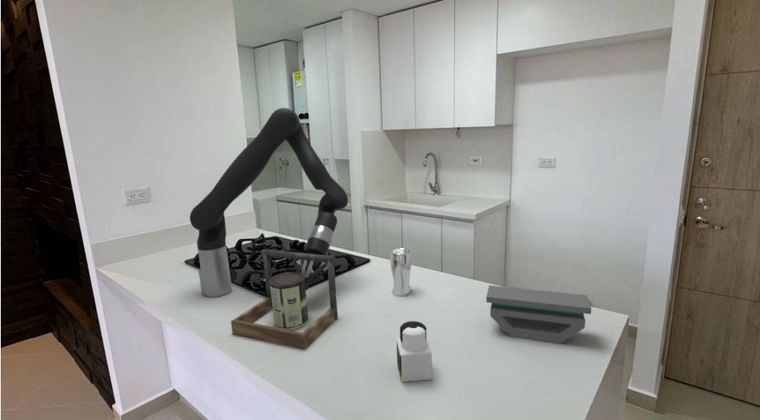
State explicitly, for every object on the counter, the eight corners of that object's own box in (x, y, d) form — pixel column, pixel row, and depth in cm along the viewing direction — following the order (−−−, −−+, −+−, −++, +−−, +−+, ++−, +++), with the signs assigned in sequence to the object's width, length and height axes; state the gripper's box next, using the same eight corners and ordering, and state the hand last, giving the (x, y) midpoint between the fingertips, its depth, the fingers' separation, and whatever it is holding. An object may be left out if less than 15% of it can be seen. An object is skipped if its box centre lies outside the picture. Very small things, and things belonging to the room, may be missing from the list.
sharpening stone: (583, 332, 106) (586, 295, 103) (588, 348, 99) (591, 308, 96) (488, 320, 114) (489, 285, 112) (485, 333, 107) (486, 296, 105)
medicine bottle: (397, 364, 95) (395, 319, 93) (426, 361, 96) (425, 316, 93) (401, 383, 88) (399, 334, 86) (432, 380, 89) (431, 332, 86)
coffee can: (294, 310, 125) (290, 269, 122) (315, 320, 119) (312, 276, 115) (266, 323, 118) (261, 279, 115) (287, 334, 111) (282, 288, 108)
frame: (271, 306, 129) (265, 248, 125) (339, 317, 119) (334, 255, 115) (231, 333, 113) (222, 268, 108) (306, 349, 103) (299, 278, 99)
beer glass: (412, 288, 138) (411, 247, 135) (411, 296, 132) (410, 254, 128) (392, 288, 139) (390, 247, 136) (390, 296, 132) (389, 254, 129)
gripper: (297, 234, 131) (278, 283, 122) (332, 237, 126) (314, 288, 117) (307, 245, 137) (289, 292, 128) (340, 248, 132) (324, 297, 123)
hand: (301, 290), depth 123 cm, fingers closed
